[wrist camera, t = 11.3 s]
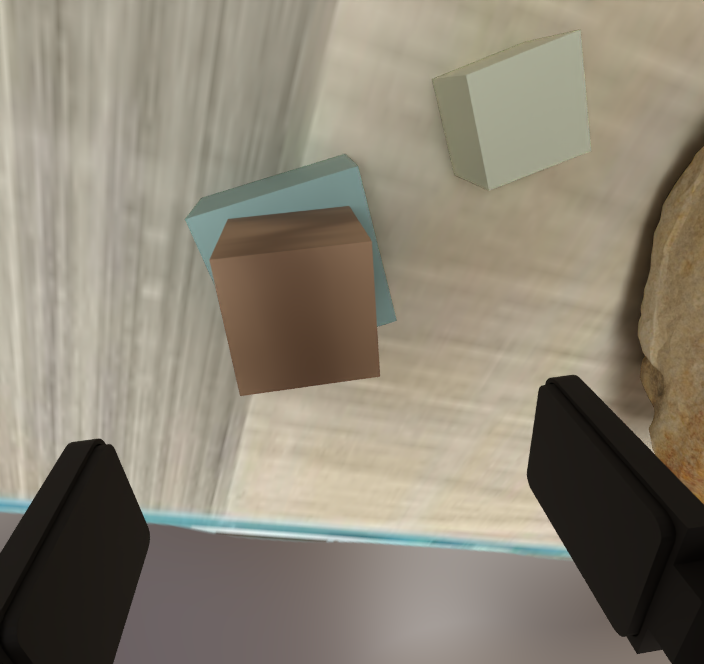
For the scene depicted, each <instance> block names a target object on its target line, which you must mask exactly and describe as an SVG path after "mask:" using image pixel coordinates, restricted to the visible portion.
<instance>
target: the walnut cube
mask: <svg viewBox="0 0 704 664" xmlns="http://www.w3.org/2000/svg"><path fill="white" fill-rule="evenodd" d="M209 261H210V265H211V270H212V274H213V278H214V283H215V287H216V292H217V296H218V300H219V305H220V309H221V314H222V318H223V322H224V327H225V331H226V336H227V340H228V344H229V349H230V353H231V358H232V362H233V366H234V371H235V375H236V380H237V384H238V388H239V393H240V396H244V395H251V394H258V393H265V392H273V391H280V390H287V389H294V388H301V387H308V386H315V385H322V384H330V383H337V382H344V381H351V380H358V379H365V378H372V377H379V376H380V369H379V352H378V335H377V318H376V302H375V285H374V268H373V251H372V241H371V239H370V237H369V236H368V234H367V233H366V231H365V230H364V228H363V226H362V225H361V223H360V222H359V220H358V219H357V217H356V216H355V214H354V212H353V211H352V209H351V208H350V206H343V207H334V208H324V209H315V210H306V211H297V212H287V213H278V214H269V215H260V216H250V217H241V218H232V219H228V220H227V222H226V224H225V226H224V228H223V231H222V233H221V235H220V237H219V240H218V242H217V244H216V246H215V248H214V251H213V253H212V255H211V257H210V259H209Z"/></svg>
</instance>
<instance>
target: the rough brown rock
mask: <svg viewBox="0 0 704 664" xmlns="http://www.w3.org/2000/svg"><path fill="white" fill-rule="evenodd" d="M638 337H639V340H640V344H641V348H642V351H643V353H644V355H645V357H644V358H643V361H642V364H641V372H640V379H641V381H642V384H643V387H644V389H645V391H646V393H647V395H648V398H649V399H650V401H651V403H652V405H653V407H654V413H655V414H654V418H653V421H652V423H651V425H650V427H649V432H650V437H651V443H652V448H653V451H654V453H655V455H656V456H657V457H658V458H659V459H660V460H661V461H662V462H663V463H664V464H665V465H666V466H667V467H668V468H669V469H670V470H671V471H672V472H673V473H674V474H675V475H676V476H677V478H678V479H679V480H680V481H681V482H682V483H683V484H684V485H685V486H686V487H687V488H688V489H689V490H690V491H691V492H692V493H693V494H694V495H695V496H696V497H697V498H698V499H699V500H700V501H701V502H702V503H703V504H704V146H703V147H702V148H701V149H700V150H699V151H698V152H697V153H696V155H695V156H694V158H693V160H692V162H691V163H690V165H689V166H688V167H687V169H686V170H685V171H684V173H683V174H682V175H681V177H680V178H679V179H678V181H677V182H676V183H675V185H674V187H673V189H672V190H671V192H670V194H669V195H668V197H667V199H666V200H665V202H664V204H663V206H662V213H661V219H660V222H659V224H658V226H657V228H656V230H655V232H654V238H653V248H652V253H651V269H650V273H649V276H648V280H647V283H646V286H645V288H644V298H643V301H642V304H641V317H640V320H639V323H638Z"/></svg>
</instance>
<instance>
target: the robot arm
mask: <svg viewBox="0 0 704 664" xmlns="http://www.w3.org/2000/svg"><path fill="white" fill-rule="evenodd" d="M527 479H528V483H529V486H530V488H531V490H532V492H533V493H534V495H535V497H536V498H537V500H538V502H539V503H540V505H541V507H542V508H543V510H544V512H545V514H546V515H547V517H548V519H549V520H550V522H551V524H552V525H553V527H554V529H555V530H556V532H557V534H558V535H559V537H560V539H561V541H562V542H563V544H564V546H565V547H566V549H567V551H568V552H569V554H570V556H571V557H572V559H573V561H574V562H575V564H576V566H577V568H578V569H579V571H580V573H581V574H582V576H583V578H584V579H585V581H586V583H587V584H588V586H589V588H590V589H591V591H592V593H593V594H594V596H595V598H596V600H597V601H598V603H599V605H600V606H601V608H602V610H603V611H604V613H605V615H606V616H607V618H608V620H609V622H610V623H611V625H612V627H613V628H614V630H615V631H616V632H617V633H618V634H619V635H620V636H622V637H625V636H627V638H628V640H629V641H630V643H631V645H632V646H633V648H634V650H635V651H636V653H637V654H640V653H646V652H652V651H657V650H663V651H664V653H665V654H666V656H667V657H668V659H669V660H670V662H671V663H672V664H704V504H703V503H702V502H701V501H700V500H699V499H698V498H697V497H696V496H695V495H694V494H693V493H692V492H691V491H690V490H689V489H688V488H687V487H686V486H685V485H684V484H683V483H682V482H681V481H680V480H679V479H678V478H677V476H676V475H675V474H674V473H673V472H672V471H671V470H670V469H669V468H668V467H667V466H666V465H665V464H664V463H663V462H662V461H661V460H660V459H659V458H658V457H657V456H656V455H655V454H654V453H653V452H652V451H651V450H650V449H649V448H648V447H647V446H646V445H645V444H644V443H643V442H642V441H641V440H640V439H639V438H638V437H637V436H636V435H635V434H634V433H633V432H632V431H631V430H630V429H629V428H628V427H627V426H626V424H625V423H624V422H623V421H622V420H621V419H620V418H619V417H618V416H617V415H616V414H615V413H614V412H613V411H612V410H611V409H610V408H609V407H608V406H607V405H606V404H605V403H604V402H603V401H602V400H601V399H600V398H599V397H598V396H597V395H596V394H595V393H594V392H593V391H592V390H591V389H590V388H589V387H588V386H587V385H586V384H585V383H584V382H583V381H582V380H581V379H580V378H579V377H578V376H577V375H568V376H560V377H553V378H549V379H548V380H547V381H546V384H545V385H543V386H541V387H540V388H539V392H538V399H537V406H536V413H535V420H534V427H533V434H532V441H531V447H530V454H529V461H528V468H527ZM149 542H150V533H149V528H148V526H147V523H146V521H145V519H144V516H143V514H142V512H141V509H140V507H139V505H138V502H137V500H136V498H135V495H134V493H133V491H132V488H131V486H130V484H129V481H128V479H127V477H126V474H125V472H124V470H123V467H122V465H121V463H120V460H119V458H118V456H117V453H116V451H115V449H114V447H113V446H112V445H111V444H107V445H106V444H105V442H104V441H103V440H102V439H92V440H85V441H77V442H71V443H69V444H68V445H67V446H66V447H65V449H64V451H63V452H62V454H61V456H60V457H59V459H58V460H57V462H56V464H55V465H54V467H53V469H52V470H51V472H50V473H49V475H48V477H47V478H46V480H45V482H44V483H43V485H42V486H41V488H40V490H39V491H38V493H37V494H36V496H35V498H34V499H33V501H32V503H31V504H30V506H29V507H28V509H27V511H26V512H25V514H24V516H23V517H22V519H21V520H20V522H19V524H18V525H17V527H16V529H15V530H14V532H13V533H12V535H11V537H10V539H9V540H8V542H7V543H6V545H5V546H4V548H3V550H2V551H1V553H0V664H113V662H114V659H115V655H116V652H117V648H118V646H119V642H120V639H121V635H122V632H123V629H124V626H125V623H126V619H127V616H128V613H129V609H130V606H131V603H132V600H133V596H134V593H135V590H136V587H137V583H138V580H139V577H140V573H141V570H142V567H143V564H144V560H145V557H146V554H147V551H148V547H149Z"/></svg>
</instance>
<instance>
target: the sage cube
mask: <svg viewBox="0 0 704 664" xmlns="http://www.w3.org/2000/svg"><path fill="white" fill-rule="evenodd" d="M432 81H433V85H434V89H435V94H436V98H437V102H438V107H439V111H440V115H441V120H442V124H443V128H444V132H445V137H446V141H447V145H448V150H449V154H450V158H451V163H452V167H453V171H454V175H456V176H458V177H460V178H462V179H464V180H467V181H469V182H471V183H473V184H475V185H478V186H480V187H482V188H484V189H486V190H489V191H490V190H492V189H495V188H498V187H500V186H503V185H505V184H508V183H511V182H513V181H516V180H518V179H521V178H523V177H526V176H529V175H531V174H534V173H536V172H539V171H541V170H544V169H547V168H549V167H552V166H554V165H557V164H559V163H562V162H565V161H567V160H570V159H572V158H575V157H578V156H580V155H583V154H585V153H588V152H590V151H591V141H590V130H589V119H588V108H587V96H586V85H585V74H584V63H583V51H582V40H581V30H576V31H572V32H567V33H563V34H558V35H553V36H549V37H544V38H540V39H535V40H531V41H526V42H523V43H521V44H518V45H516V46H513V47H511V48H508V49H506V50H503V51H501V52H498V53H496V54H493V55H491V56H488V57H486V58H483V59H481V60H478V61H476V62H473V63H471V64H468V65H466V66H463V67H461V68H458V69H456V70H453V71H451V72H448V73H446V74H443V75H441V76H438V77H436V78H433V79H432Z"/></svg>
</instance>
